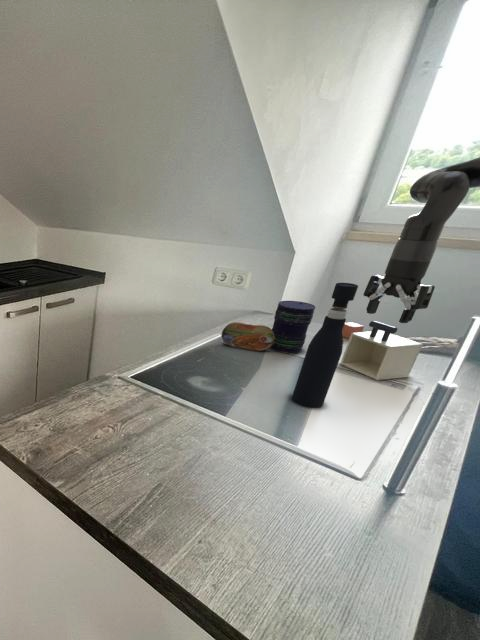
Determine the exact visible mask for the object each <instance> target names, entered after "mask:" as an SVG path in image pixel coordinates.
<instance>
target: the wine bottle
mask: <svg viewBox="0 0 480 640" xmlns="http://www.w3.org/2000/svg"><path fill="white" fill-rule="evenodd" d="M358 288H359V285H358V284H355V283H350V282H336V283H335V285H334V287H333V290H332V291H333V292H332V294H331V299H334V301H333V303H332V304H331V308H329V309H328V312H327V315H325V316H324V320H323V322H322V325H321V327H320V329H318V331H317V332H316V333H315V335H313V337H312V339H311V340H310V342H309V344H308V346H307V350H306V352H305V355H304V358H303V362H302V365H301V369H300V371H299V374H298V377H297V380H296V383H295V387H294V389H293V393H292V395H291V400H292V401H293V402H294V403H296V404H298V405H300V406H304V407H307V408H313V409H316V408H321V407H323V405H324V403H325V402H326V401H325V400H326V398H327V395H328V392H329V390H330V386H331V384H332V381H333V378H334V376H335V373H336V370H337V367H338V365H339V362H340V359H341V357H342V354H343V348H344V337H343V334H342V330H343V327H344V324H345V323H346V321H347V318H346V317H347V314H348V310H347V308H348V304H349V302H351V301H354V300H355V297H356V294H357V291H358Z"/></svg>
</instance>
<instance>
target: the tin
mask: <svg viewBox="0 0 480 640" xmlns="http://www.w3.org/2000/svg"><path fill="white" fill-rule="evenodd" d="M221 331H222V332H221V339H222V341H223V343H224V344H226V345H227V346H229V347H232V348H237V349H238V348H239V349H245V350H251V351H257V352H261V351H265V350H268V349H270V347H271V346H272V345H273V343H274V341H275V336H274V333H273V331H272V328H271V327H269V326H267V325H263V324H258V323H257V324H256V323H247V322H240V321H235V322H231V323H229V324H227V325H226V326H225V327H224V328H223V329H222V330H221Z"/></svg>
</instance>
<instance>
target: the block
mask: <svg viewBox="0 0 480 640" xmlns="http://www.w3.org/2000/svg"><path fill="white" fill-rule="evenodd" d="M364 328H365V326H364V325H362V324H359V323H356V322H354V321H353V322H352V321H351V322H345V324H344V327H343V330H342V334H343V338H346V339H348V340H349V339H350V336H351V333H358V332H364Z"/></svg>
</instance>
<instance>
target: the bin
mask: <svg viewBox="0 0 480 640" xmlns="http://www.w3.org/2000/svg"><path fill="white" fill-rule="evenodd" d="M368 326H369V327H370V328H372V329H371V331H362V332H358V333H351V336H350V339H348V342H347V345H346V347H345V349H344V352H343V355H342V358H341V360H340V365H342V366H345V367H346V368H348V369H350V370H352V371H355V372H358V373H360V374H362V375H364V376H367V377H368V378H372V379H374V380H376V381H383V380H390V379H400V378H401V379H402V378H409V377H410V374H411V372H412V369H413V367H414V365H415V363H416V361H417V358H418V356H419V354H420V352H421V349H422V348H423V345H424V343H421V342H419V341H415V340H412V339H409V338H405V337H403V336H400V335H396V333H397V331H398V327H396V326H393V325H389V324H386V323H383V322H380V321H376V320H371V321H370V322H369V324H368Z"/></svg>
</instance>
